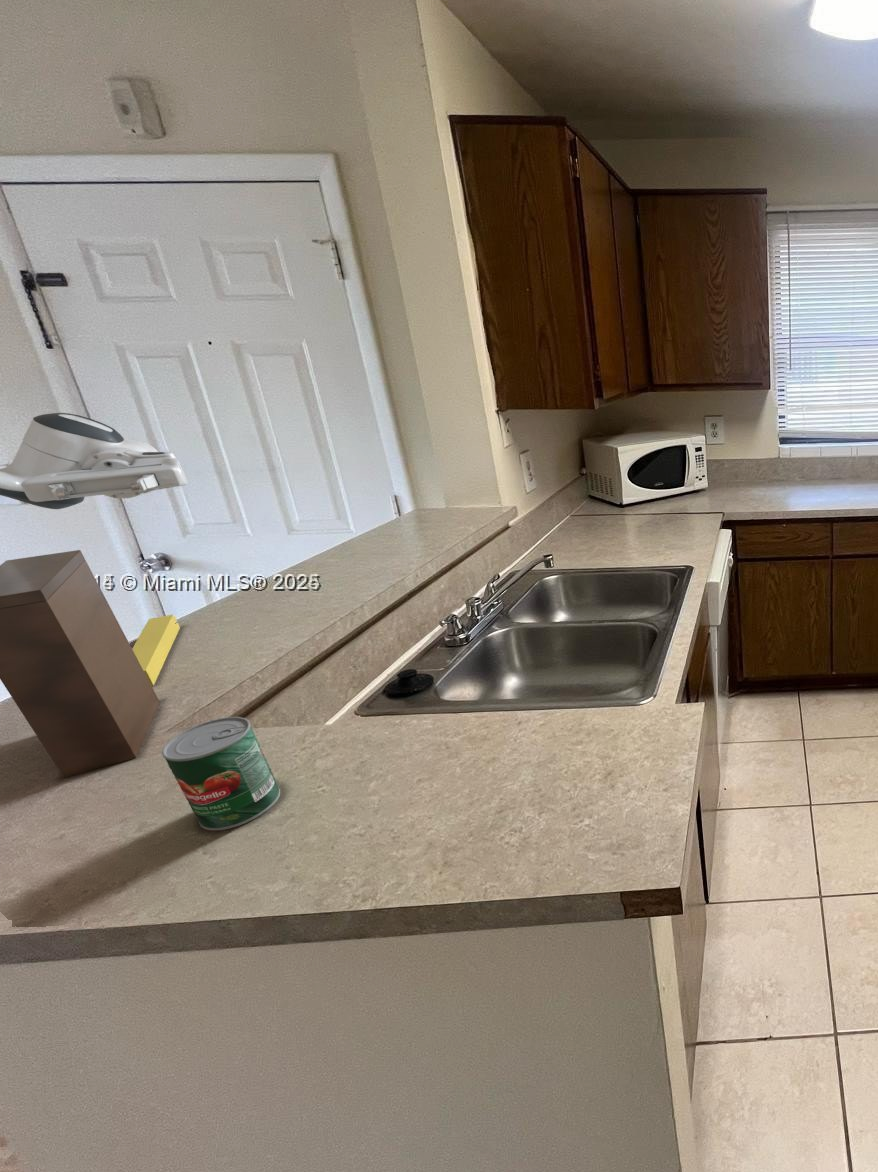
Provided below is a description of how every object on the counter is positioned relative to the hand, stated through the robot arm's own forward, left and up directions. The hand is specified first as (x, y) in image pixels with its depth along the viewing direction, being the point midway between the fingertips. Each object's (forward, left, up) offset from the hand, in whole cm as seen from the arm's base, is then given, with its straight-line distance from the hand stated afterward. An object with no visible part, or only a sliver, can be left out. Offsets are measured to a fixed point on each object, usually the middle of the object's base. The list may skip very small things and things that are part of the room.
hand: (98, 490), depth 106 cm
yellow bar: (0, -12, -28) cm, 30 cm away
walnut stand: (0, -38, -28) cm, 47 cm away
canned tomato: (+16, -66, -28) cm, 74 cm away
